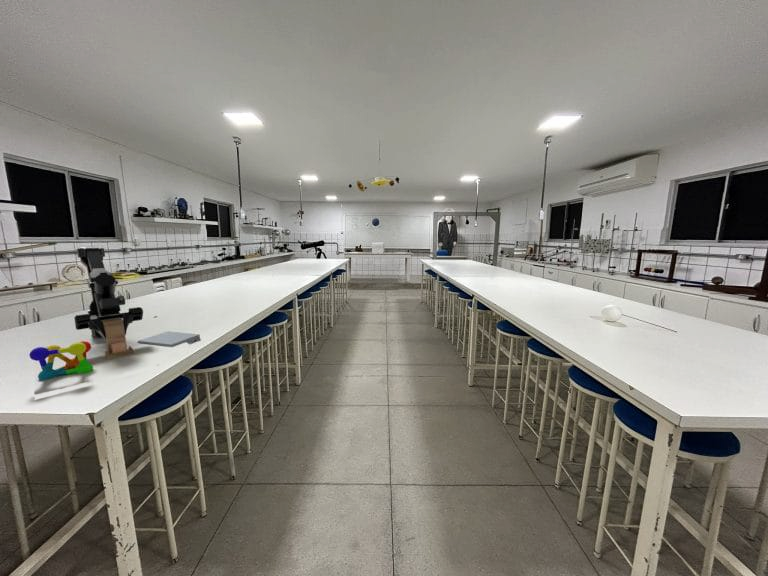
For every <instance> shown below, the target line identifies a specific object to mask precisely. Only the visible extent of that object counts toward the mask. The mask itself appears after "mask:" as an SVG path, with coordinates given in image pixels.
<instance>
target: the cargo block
mask: <svg viewBox="0 0 768 576" xmlns="http://www.w3.org/2000/svg"><path fill="white" fill-rule="evenodd" d="M126 346H127V343H126V344H125V343H124V342H120V343H114V344H111V349H112V354H114V353H119V352H123V351H126Z"/></svg>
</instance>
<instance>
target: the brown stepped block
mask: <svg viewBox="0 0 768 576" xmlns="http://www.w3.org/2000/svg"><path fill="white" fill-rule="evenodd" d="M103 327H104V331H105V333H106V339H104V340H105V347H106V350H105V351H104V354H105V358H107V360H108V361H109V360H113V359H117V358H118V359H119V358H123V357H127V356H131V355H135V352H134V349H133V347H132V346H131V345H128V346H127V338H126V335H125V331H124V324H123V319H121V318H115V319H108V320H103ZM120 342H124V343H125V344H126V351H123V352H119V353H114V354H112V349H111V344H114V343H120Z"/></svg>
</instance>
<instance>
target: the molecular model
mask: <svg viewBox="0 0 768 576" xmlns="http://www.w3.org/2000/svg"><path fill="white" fill-rule="evenodd" d="M91 349H92V344H91V343H90V342H89V341H85V340H84V341H82V340H81V341H78V342H77V341H76V342H74V343H72V344H70V345H69V346H68V347H61V346H60V345H55V344H51V345H49V346H47V347H44V346H39V347H36V348H33V349H32V350H31V351H30V353H29V358H30V359H31V360H32V361H35V362H36V361H38V363H39V366H40V367H41V371H40V372H39V373H38V376H37V377H38V380H40V381H47V380H51V379H53V378H56V377H59V376H64V375H69V374H80V375H81V374H82V375H83V374H87V373H90V372H92V371H93V370H94V366H93V364H91V363H89V362H88V359H87V353H88V352H90V350H91ZM63 353H69V355H73V356H74V357H73V358H70V357H68V356H66V355H64V354H63ZM55 358H58V359H60V360H62V361H63V362H65V365H64V366H61V367H58V368H56V369H54V367H53V366H54V362H55ZM46 359H47V360H46Z"/></svg>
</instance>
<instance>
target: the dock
mask: <svg viewBox="0 0 768 576" xmlns="http://www.w3.org/2000/svg"><path fill="white" fill-rule="evenodd" d="M197 339H198V340H200V339H201V335H200V334H199V333H188V332H180V331H179V332H178V331H167V330H166V331H163V332H162V333H158V334H155V335H152V336H148V337H145V338H142V339H138V340H137V344H144V345H154V346H162V347H163V346H164V347H175V346H177V345H180V344H182V343H186V344H190V343H193V342H195V341H194V340H196V341H198V340H197ZM192 341H193V342H192ZM189 342H190V343H189Z"/></svg>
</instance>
